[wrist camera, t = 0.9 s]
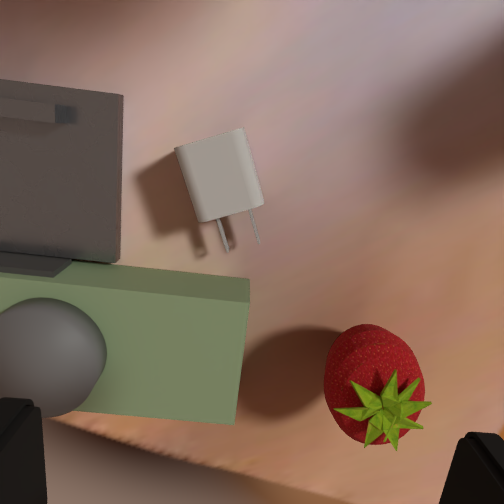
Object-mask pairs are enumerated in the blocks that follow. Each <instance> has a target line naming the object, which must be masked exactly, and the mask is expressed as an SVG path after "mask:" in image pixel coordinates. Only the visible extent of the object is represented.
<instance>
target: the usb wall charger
mask: <svg viewBox="0 0 504 504" xmlns="http://www.w3.org/2000/svg"><path fill="white" fill-rule="evenodd" d="M174 150H175V153H176V156H177V159H178V162H179V165H180V168H181V171H182V174H183V177H184V180H185V183H186V186H187V189H188V192H189V195H190V198H191V201H192V204H193V207H194V210H195V213H196V216H197V219H198V222H206V221H210V220H214V219H216V221H217V224H218V227H219V230H220V233H221V236H222V240H223V243H224V246H225V249H226V252H227V253H228V252H229V246H228V243H227V240H226V236H225V233H224V230H223V227H222V224H221V220H220V218H221V217H224V216H228V215H232V214H235V213H239V212H242V211H246V210H248V211H249V214H250V218H251V221H252V225H253V228H254V232H255V235H256V238H257V242H258V244H260V239H259V235H258V232H257V228H256V225H255V221H254V218H253V214H252V211H251V209H253V208H256V207H259V206H261V205H263V204H264V199H263V195H262V191H261V188H260V184H259V180H258V177H257V173H256V170H255V166H254V162H253V159H252V155H251V151H250V148H249V144H248V140H247V137H246V133H245V129H244V127H243V128H240V129H236V130H233V131H230V132H226V133H223V134H219V135H216V136H213V137H209V138H206V139H203V140H199V141H196V142H192V143H189V144H186V145H182V146H179V147H176V148H174Z"/></svg>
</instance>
